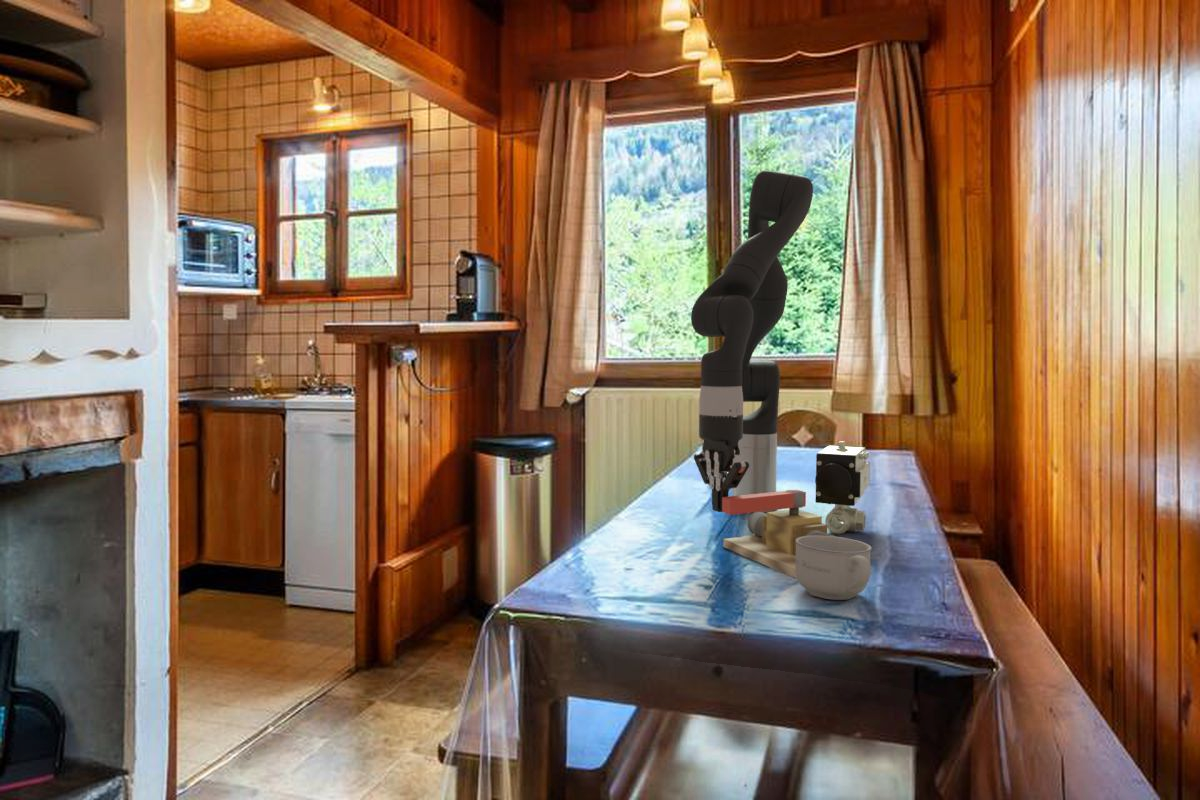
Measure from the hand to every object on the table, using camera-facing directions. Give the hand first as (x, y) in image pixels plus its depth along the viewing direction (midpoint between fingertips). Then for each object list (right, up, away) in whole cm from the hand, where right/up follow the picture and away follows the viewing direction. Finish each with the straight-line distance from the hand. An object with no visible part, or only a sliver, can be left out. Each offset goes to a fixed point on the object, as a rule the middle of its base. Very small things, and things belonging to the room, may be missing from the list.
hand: (720, 510), depth 136 cm
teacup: (+14, -10, -21) cm, 27 cm away
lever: (+7, +1, -3) cm, 8 cm away
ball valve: (+27, -7, +19) cm, 34 cm away
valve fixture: (+13, -8, 0) cm, 15 cm away
